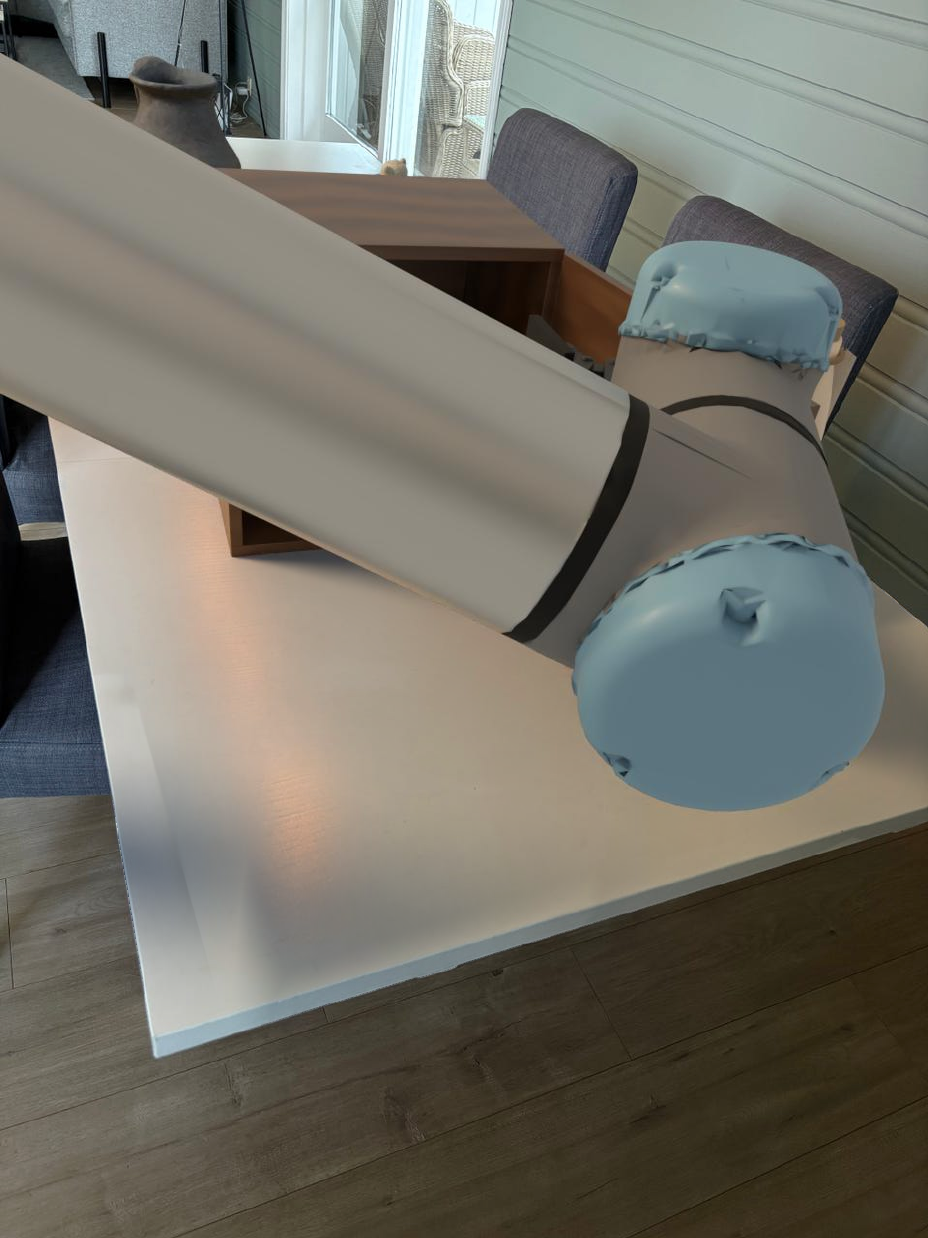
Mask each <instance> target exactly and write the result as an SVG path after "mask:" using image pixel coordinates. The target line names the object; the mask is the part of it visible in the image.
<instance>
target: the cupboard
mask: <svg viewBox="0 0 928 1238" xmlns="http://www.w3.org/2000/svg"><path fill="white" fill-rule="evenodd" d="M214 169H216V170H218V171H220V172H222V173H224V174H225V175H227V176H229V177H231V178H233V179H235V180H237V181H238V182H240V183H242V184H244V185H246V186H248V187H250V188H251V189H253V190H255V191H257V192H259V193H261V194H263V195H264V196H266V197H268V198H270V199H272V200H274V201H276V202H277V203H279V204H281V205H283V206H285V207H287V208H288V209H290V210H292V211H294V212H296V213H298V214H300V215H301V216H303V217H305V218H307V219H309V220H311V221H313V222H314V223H316V224H318V225H320V226H322V227H324V228H326V229H327V230H329V231H331V232H333V233H335V234H337V235H339V236H340V237H342V238H344V239H346V240H348V241H350V242H351V243H353V244H355V245H357V246H359V247H361V248H363V249H364V250H366V251H368V252H370V253H372V254H374V255H376V256H377V257H379V258H381V259H383V260H385V261H387V262H389V263H390V264H392V265H394V266H396V267H398V268H400V269H402V270H403V271H405V272H407V273H409V274H411V275H413V276H415V277H416V278H418V279H420V280H422V281H424V282H426V283H427V284H429V285H431V286H433V287H435V288H437V289H439V290H440V291H442V292H444V293H446V294H448V295H450V296H452V297H453V298H455V299H457V300H459V301H461V302H463V303H465V304H466V305H468V306H470V307H472V308H474V309H476V310H478V311H479V312H481V313H483V314H485V315H487V316H489V317H490V318H492V319H494V320H496V321H498V322H500V323H502V324H503V325H505V326H507V327H509V328H511V329H513V330H515V331H516V332H518V333H520V334H522V335H524V336H526V332H527V326H528V320H529V315H540V316H541V318H542V319H543V320H544V321H545V322H546V323H547V324H548V325H549V326H550V327H551V324H552V319H553V313H554V308H555V302H556V297H557V291H558V286H559V280H560V275H561V269H562V264H563V258H564V254H566V248H565V247H564V246H563V245H562V244H560V243H559V242H558V241H557V240H556V239H555V238H554V237H552V236H551V235H550V234H549V233H548V232H546V231H545V230H544V229H543V228H542V227H541V226H539V224H537V223H536V222H535V221H534V220H533V219H532V218H530V217H529V216H528V215H527V214H526V213H525V212H523V211H522V210H521V209H520V208H519V207H517V206H516V205H515V204H514V203H513V202H512V201H511V200H510V199H508V198H507V197H506V196H505V195H504V194H503V193H501V192H500V191H499V190H498V189H497V188H496V187H494V186H493V185H492V184H491V183H490V182H488V181H487V180H486V179H485V178H466V177H465V178H463V177H439V176H419V175H418V176H417V175H416V176H415V175H407V176H397V175H374V174H372V173H371V174H370V173H350V172H349V173H347V172H346V173H345V172H324V171H301V170H299V171H298V170H278V169H277V170H276V169H255V168H253V169H252V168H250V169H249V168H241V169H234V168H214ZM217 499H218V502H219V507H220V511H221V516H222V521H223V525H224V530H225V534H226V538H227V544H228V549H229V552H230V557H241V556H242V557H243V556H254V555H265V554H278V553H289V552H298V551H300V552H301V551H310V550H322V549H323V550H325V549H324V548H322V547H320V546H317V545H315V544H313V543H311V542H309V541H307V540H305V539H303V538H301V537H299V536H297V535H295V534H292V533H290V532H288V531H286V530H284V529H282V528H280V527H278V526H276V525H274V524H272V523H270V522H267V521H265V520H263V519H261V518H259V517H257V516H255V515H253V514H251V513H249V512H247V511H245V510H242V509H240V508H238V507H236V506H234V505H232V504H230V503H228V502H226V501H224V500H222V499H219V498H217Z"/></svg>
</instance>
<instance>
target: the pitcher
mask: <svg viewBox="0 0 928 1238" xmlns="http://www.w3.org/2000/svg"><path fill="white" fill-rule="evenodd" d="M128 79H129V80H130V82H131V83H132V84H133V88H134V92H135V97H136V101H137V106H138V110H137V112H136V115H135V117H134V120H133V122H132V124H133V125H135V126H137V127H138V128H140V129H142V130H144V131H146V132H148V133H149V134H151V135H153V136H155V137H157V138H159V139H161V140H162V141H164V142H166V143H168V144H170V145H172V146H174V147H175V148H177V149H179V150H181V151H183V152H185V153H187V154H188V155H190V156H192V157H194V158H196V159H198V160H200V161H201V162H203V163H205V164H207V165H209V166H211V167H212V168H234V169H242V164H241V161H240V159H239V157H238V156H237V154H236V153H235V151H234V149H233V147H232V146H231V144H230V143H229V141H228V139H227V137H226V135H225V133H224V131H223V128H222V125H221V123H220V120H219V118H218V114H217V110H216V107H215V102H214V97H213V96H214V93H215V91H216V90H217V88H218V85H219V84H218V83H219V82H218V81H217V78H215V77H214V76H213V75H211V74H209V73H207V72H203V71H200V70H196V69H192V68H184V67H179V66H176V65H174V64H172V63H169V62H167V61H166V60H164V59H163V58H160V57H159V56H154V55H151V56H150V55H149V56H143V57H140V58H137V59H136V60H135V61H134V64H133V69H132V70H131V72H130V73H129V76H128Z"/></svg>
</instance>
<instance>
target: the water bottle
mask: <svg viewBox="0 0 928 1238" xmlns="http://www.w3.org/2000/svg"><path fill="white" fill-rule="evenodd" d="M845 327H846V321H845V320H844V319H843V318H842V317H841V318H840V321H839V325H838V328H837V331H836V334H835V338H834V341H833V344H832V348H831V351H830V354H829V360H830V363H831V364H830V367H829V369H828V372H824V374H823V376H822V378H821V379H820V381H819V383H818V385H817V387H816V389H815V391H814V394H813V397H812V401H814V402H816V403H817V404H819V405H820V409H819V411H818V414H817V417H816V419H815V423H816V427H817V430H818V433H819V437H820V440H821V441H823V437H824V434H825V429H826V426H827V422H828V420H829V418H830V416H831V413H832V412H833V410H834V407H835V405H836V403H837V401H838V398H839V396H840V394H841V392H842V390H843V388H844V386H845V384H846V382H847V380H848V377H849V375H850V373H851V371H852V368H853V367H854V364H855V362H856V360H857V358H858V357H857V356H856V355H855V354H853V353H852V352H851V351H850V350H849V349H847V347H845V346H844V345H843V344H842V343H843V337H842V334H843V331H844V329H845Z"/></svg>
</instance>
